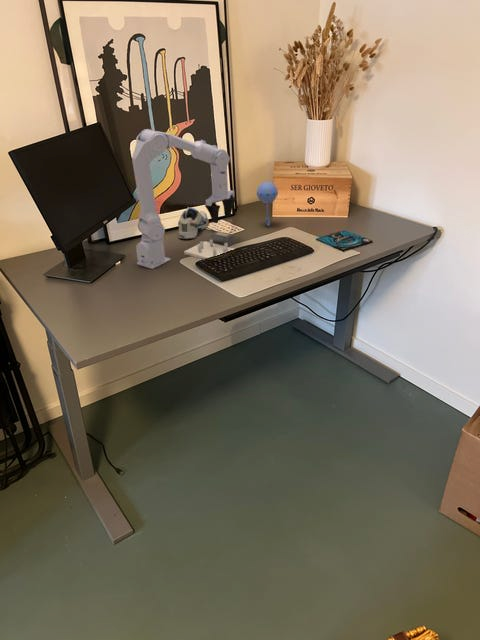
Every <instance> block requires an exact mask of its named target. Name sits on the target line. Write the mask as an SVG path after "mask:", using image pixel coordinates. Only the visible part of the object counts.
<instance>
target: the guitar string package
mask: <svg viewBox="0 0 480 640" xmlns="http://www.w3.org/2000/svg"><path fill="white" fill-rule="evenodd" d="M315 240H316V242H320V243H322V244H324V245H326V246H328V247H331V248H333V249H336V250H338V251H340V252H343V253H344V252H348V251H349V250H350V251H351V250H354V249H356V248H360V247H363V246H366V245H369V244H372V243H373V242H374V240H372V239H369V238H368V237H364V236H362V235H359V234H356V233H354V232H351V231H349V230H347V229H344V230H341V231H336V232H333V233H330V234H326V235H322V236H320V237H316V238H315ZM373 244H374V243H373Z"/></svg>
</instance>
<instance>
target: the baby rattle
mask: <svg viewBox="0 0 480 640" xmlns="http://www.w3.org/2000/svg"><path fill="white" fill-rule="evenodd" d="M278 195H279V190H278V188H277V186H276V185H275V184H274V183H273V182H270V181H264V182H262V183H260V184H259V186H258V187H257V189H256V197H257V198H258V200H259V201H260V202H262V203H264V204H266V218H265V225H266V226H267V227H270V226H271V221H270V217H269V204H271V203H273V202H274V201H275V200H276V198H278Z"/></svg>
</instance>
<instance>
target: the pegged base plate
mask: <svg viewBox="0 0 480 640" xmlns="http://www.w3.org/2000/svg"><path fill="white" fill-rule="evenodd" d="M234 249H235V248H234V247H231V246H230V247H228V243H224V246H222V245H218V244H214V243H213V240H212V239H211V238H210V239H209V241H203V240H200V241H199V243H198V244H196V245H194V246H192V247H190V248H188V249H186V250H184V252H183V254H184V255H186V256H189V257H190V256H191V257H193V258H194V257H195V258H197V257H198V259H201V258H209V257H212V256H217V255H220V254H222V253H226V252H227V251H230V250H234Z"/></svg>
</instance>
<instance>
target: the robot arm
mask: <svg viewBox="0 0 480 640" xmlns="http://www.w3.org/2000/svg"><path fill="white" fill-rule="evenodd" d="M206 142H207V141H206V140H203V139H200V140H196V141H194V142H192V141H189V140H186V139H185V138H182V137H179V136H177V135H174V134H171V133H168V132H164V131H163V132H162V131H158V130H153V129H151V128H147V129H146V128H145V129H143V130H142V131H141V132H139V134H138V135H137V136H136V143H135V146H134V149H133V153H132V157H131V159H132V160H131V162H132V167H133V173H134V179H135V184H136V191H137V197H138V203H139V209H140V212H139V213H138V220H137V221H138V222H137V229H138V231H139V233H141V241H140V242H139V243H137V244H136V246H135V247H136V248H135V250H136V258H137V262H136V264H137V265H138V266H142V267H145V268H148V269H151V270H154V269H155V268H157V267H159V266H161V265H163V264H166V263H168V262H169V261H171V258H170V257H166V252H165V246H164V238H163V237H164V236H165V233H166V231H165V229H166V228H165V226H164V224H162V222H161V221H162V219H161V217H160V214H159V213H158V211H157V203H156V199H155V192H154V185H153V178H152V172H151V163H152V162H153V160H154V159H155V158H157V157H159V156H160V155H161V154H163V153H164V152H165V151H166V150H170V149H171V148H174V147H175V148H176V149H177V148H178V149H180V150H183V151H185V152H188V153H190V154H191V156H192V157H193V159H197V160H199V161H203V162H205V163H208V164H210V175H211V176H210V178H211V190H212V191H211V192H212V193H211V196H209V197H208V198H207V199H205V205H204V207H205V208H206V210H207V211H208V213H209V215H210V218H211V222H212V223H213V224H218V223H219V212H220V208H221V205H218V204H217V203H219V202H222V206H223V211H224V212H223V213H224V217H225V218H231V215H232V213H233V212H232V211H233V206H234V204H235V202H236V201H237V200H236V199H237V198H236V197H235V190H229V188H228V187H229V186H228V166H229V165H228V164H229V163H230V159H231V157H230V156H229V153H228V152H227V151H226V150H225V149H221V148H219V147H218V146H217V145H215V144H213V145H211V144H209V143H206Z"/></svg>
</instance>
